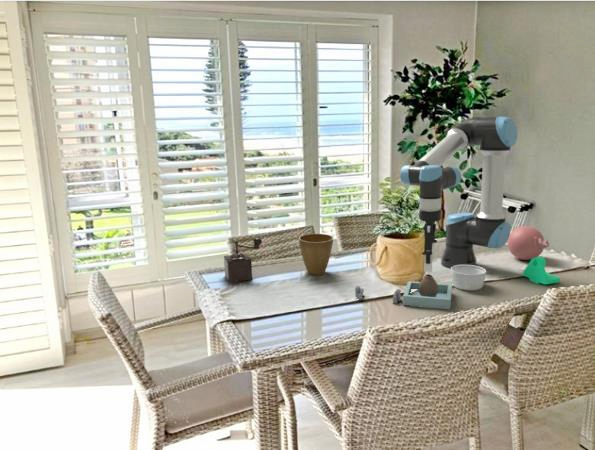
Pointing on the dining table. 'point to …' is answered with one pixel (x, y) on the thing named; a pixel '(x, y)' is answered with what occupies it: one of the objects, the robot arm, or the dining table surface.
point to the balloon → (526, 243)
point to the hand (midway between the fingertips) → (429, 265)
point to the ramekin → (468, 277)
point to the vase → (428, 286)
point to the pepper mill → (239, 263)
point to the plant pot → (316, 252)
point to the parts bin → (439, 301)
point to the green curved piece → (539, 272)
